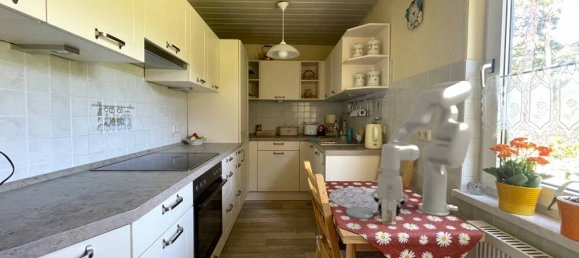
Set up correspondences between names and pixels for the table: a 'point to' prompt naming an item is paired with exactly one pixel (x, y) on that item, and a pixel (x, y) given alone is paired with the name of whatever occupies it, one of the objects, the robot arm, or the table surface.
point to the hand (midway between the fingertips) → (388, 213)
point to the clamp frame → (389, 219)
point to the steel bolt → (390, 200)
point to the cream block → (384, 210)
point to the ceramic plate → (360, 212)
